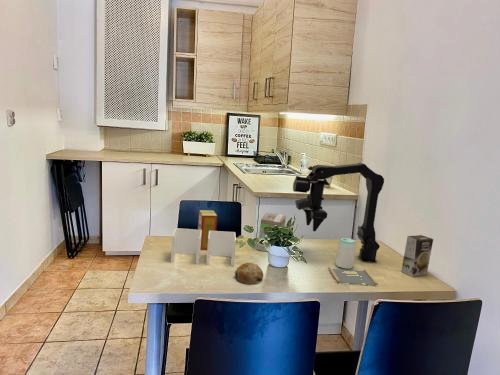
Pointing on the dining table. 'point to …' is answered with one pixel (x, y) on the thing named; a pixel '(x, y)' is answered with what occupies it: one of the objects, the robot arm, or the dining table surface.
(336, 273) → the mat
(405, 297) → the dining table surface
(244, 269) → the bread roll
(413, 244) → the coffee box
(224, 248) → the zigzag folding screen
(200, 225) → the baking soda box
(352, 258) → the can
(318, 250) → the dining table surface
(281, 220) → the tea box
